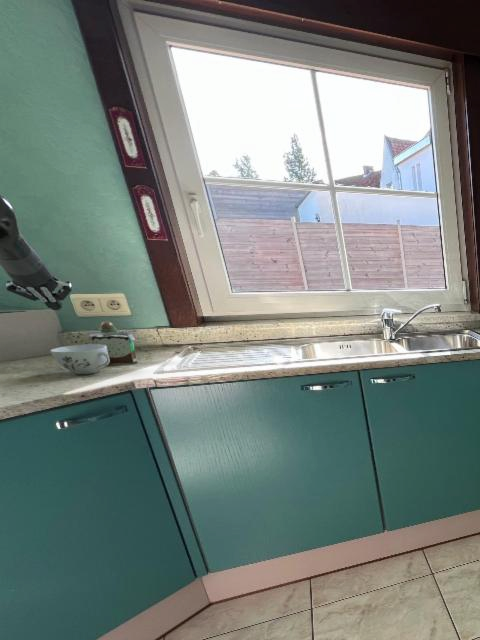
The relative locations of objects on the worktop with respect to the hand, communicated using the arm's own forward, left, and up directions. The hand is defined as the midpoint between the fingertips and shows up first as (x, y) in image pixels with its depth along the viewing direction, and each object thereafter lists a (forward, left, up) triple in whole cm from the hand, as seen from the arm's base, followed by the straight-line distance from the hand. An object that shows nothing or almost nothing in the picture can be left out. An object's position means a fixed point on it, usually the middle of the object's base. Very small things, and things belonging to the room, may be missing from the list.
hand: (56, 307), depth 139 cm
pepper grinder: (+27, +34, -21) cm, 49 cm away
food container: (+21, +19, -21) cm, 36 cm away
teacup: (+7, +11, -21) cm, 25 cm away
